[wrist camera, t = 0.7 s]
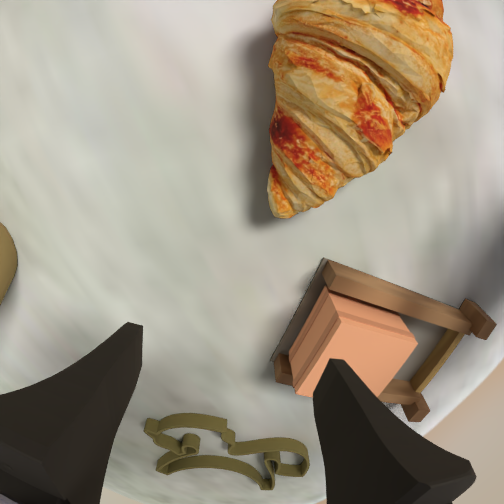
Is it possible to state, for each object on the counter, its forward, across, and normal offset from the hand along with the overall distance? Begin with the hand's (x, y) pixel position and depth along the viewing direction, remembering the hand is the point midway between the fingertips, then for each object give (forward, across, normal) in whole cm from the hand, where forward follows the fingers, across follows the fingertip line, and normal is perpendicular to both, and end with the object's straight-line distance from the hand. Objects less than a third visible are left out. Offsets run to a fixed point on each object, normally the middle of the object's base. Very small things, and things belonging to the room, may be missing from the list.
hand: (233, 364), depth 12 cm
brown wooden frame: (+10, -12, +4) cm, 16 cm away
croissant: (+10, -4, -14) cm, 18 cm away
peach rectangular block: (+10, -8, +4) cm, 13 cm away
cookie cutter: (+11, -3, +22) cm, 25 cm away
